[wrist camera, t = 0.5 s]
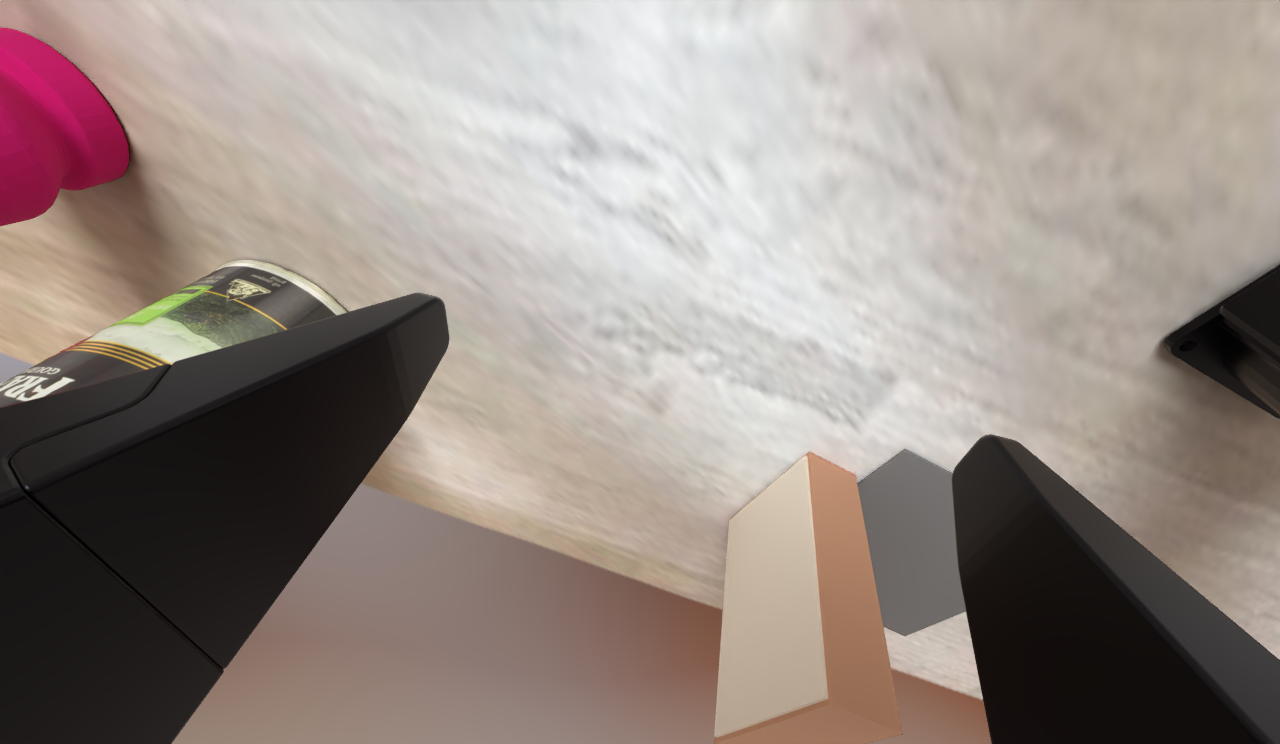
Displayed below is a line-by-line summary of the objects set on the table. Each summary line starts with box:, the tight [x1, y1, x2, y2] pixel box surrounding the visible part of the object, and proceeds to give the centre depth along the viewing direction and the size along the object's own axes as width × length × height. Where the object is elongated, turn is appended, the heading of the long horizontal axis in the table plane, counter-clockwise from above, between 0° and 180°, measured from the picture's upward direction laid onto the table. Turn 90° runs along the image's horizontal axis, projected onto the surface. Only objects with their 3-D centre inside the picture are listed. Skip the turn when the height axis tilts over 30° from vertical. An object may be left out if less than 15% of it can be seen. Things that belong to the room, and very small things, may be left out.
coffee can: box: [0, 260, 347, 407], centre depth 23 cm, size 10×10×14 cm
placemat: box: [857, 449, 966, 636], centre depth 30 cm, size 13×14×1 cm
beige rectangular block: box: [714, 452, 903, 744], centre depth 24 cm, size 3×8×12 cm, turn 154°
